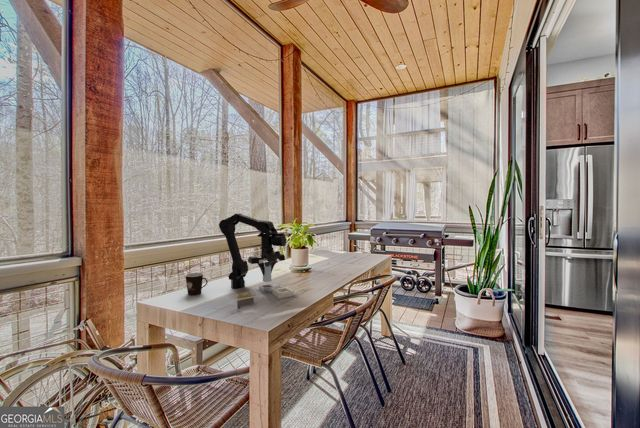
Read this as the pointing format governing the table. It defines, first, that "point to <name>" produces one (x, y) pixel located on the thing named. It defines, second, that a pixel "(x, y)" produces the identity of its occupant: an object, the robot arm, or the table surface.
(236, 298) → the platform
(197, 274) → the coffee mug
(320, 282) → the table surface
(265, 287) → the hollow square tube
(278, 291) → the port block
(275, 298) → the panel board
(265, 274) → the plug
